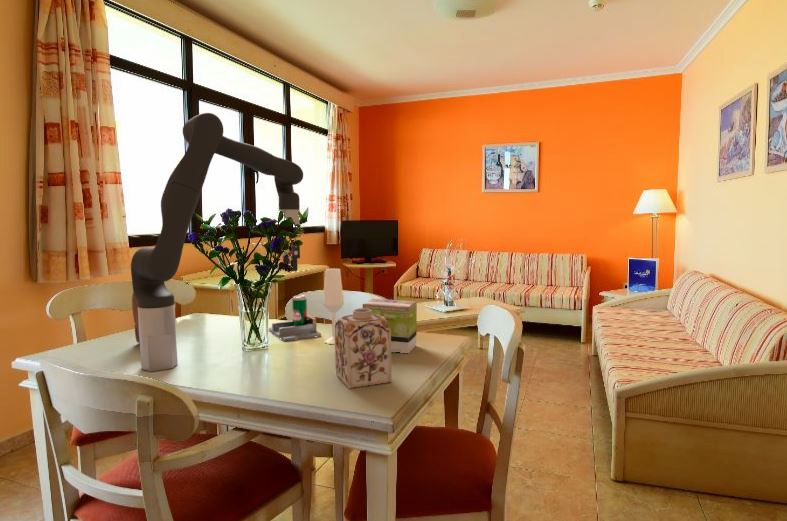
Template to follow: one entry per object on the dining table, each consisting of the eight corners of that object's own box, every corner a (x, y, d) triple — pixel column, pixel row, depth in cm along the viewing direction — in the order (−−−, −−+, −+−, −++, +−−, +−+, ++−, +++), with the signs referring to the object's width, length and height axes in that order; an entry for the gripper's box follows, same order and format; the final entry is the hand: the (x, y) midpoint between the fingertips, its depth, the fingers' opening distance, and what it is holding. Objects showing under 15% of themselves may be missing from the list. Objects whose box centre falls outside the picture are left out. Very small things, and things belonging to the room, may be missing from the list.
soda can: (289, 330, 175) (288, 296, 174) (300, 327, 180) (299, 294, 178) (300, 332, 173) (299, 298, 171) (310, 329, 177) (309, 295, 176)
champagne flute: (347, 343, 162) (346, 269, 159) (327, 345, 159) (325, 271, 157) (340, 338, 168) (339, 267, 165) (321, 340, 165) (319, 268, 163)
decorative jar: (376, 369, 135) (375, 304, 133) (393, 382, 125) (392, 312, 123) (334, 375, 131) (332, 307, 129) (347, 389, 120) (345, 316, 118)
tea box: (361, 350, 153) (361, 303, 152) (372, 342, 163) (372, 297, 161) (409, 354, 149) (408, 305, 147) (417, 345, 158) (417, 300, 157)
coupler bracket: (321, 336, 171) (320, 320, 170) (284, 341, 164) (283, 325, 164) (303, 326, 186) (302, 311, 186) (268, 330, 180) (268, 315, 179)
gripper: (306, 223, 167) (307, 271, 168) (293, 222, 179) (294, 267, 180) (285, 223, 163) (285, 272, 164) (272, 222, 175) (273, 268, 177)
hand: (290, 269), depth 172 cm, fingers open, 8 cm apart
